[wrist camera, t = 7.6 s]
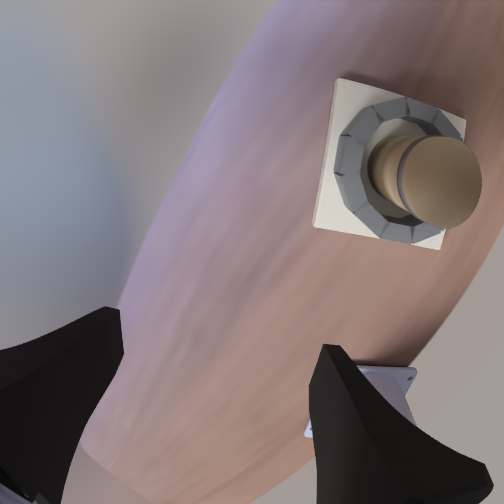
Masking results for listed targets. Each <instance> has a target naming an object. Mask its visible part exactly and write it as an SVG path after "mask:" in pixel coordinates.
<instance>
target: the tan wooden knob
mask: <svg viewBox="0 0 504 504" xmlns="http://www.w3.org/2000/svg"><path fill="white" fill-rule="evenodd" d="M367 173H368V178H369V181H370V183H371V185H372V187H373V188H374V190H375V191H376V192H377V193H378V194H379V195H380V196H382V197H383V198H385V199H387V200H388V201H390V202H392V203H394V204H396V205H397V206H399V207H401V208H403V209H404V210H406V211H408V212H409V213H411V214H412V215H413V216H414V217H416V218H417V219H419V220H421V221H422V222H424V223H427V224H429V225H431V226H433V227H436V228H440V229H448V228H453V227H456V226H458V225H460V224H462V223H463V222H464V221H466V220H467V219H468V218H469V217H470V215H471V214H472V213H473V211H474V210H475V208H476V206H477V204H478V201H479V198H480V194H481V187H482V178H481V171H480V167H479V164H478V161H477V159H476V157H475V155H474V154H473V152H472V151H471V150H470V148H469V147H468V146H467V145H465V144H464V143H463V142H461V141H460V140H458V139H455V138H451V137H445V136H440V135H428V136H390V137H387V138H384V139H382V140H381V141H379V142H378V143H377V144H376V145H375V146H374V148H373V149H372V151H371V153H370V155H369V158H368V163H367Z"/></svg>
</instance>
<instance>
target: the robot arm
mask: <svg viewBox="0 0 504 504" xmlns="http://www.w3.org/2000/svg"><path fill="white" fill-rule="evenodd" d="M123 355H124V349H123V340H122V331H121V320H120V310H119V309H114V308H110V307H106V306H105V307H102V308H100V309H98V310H96V311H93V312H92V313H89V314H87V315H85V316H83V317H81V318H79V319H77V320H75V321H74V322H71V323H69V324H67V325H66V326H63V327H61V328H59V329H57V330H55V331H52V332H50V333H48V334H46V335H44V336H41V337H39V338H37V339H34V340H31V341H29V342H26V343H23V344H21V345H17V346H14V347H11V348H7V349H3V350H0V504H61V499H62V495H63V490H64V485H65V482H66V478H67V475H68V471H69V468H70V465H71V461H72V459H73V456H74V453H75V450H76V447H77V445H78V442H79V440H80V438H81V435H82V433H83V430H84V428H85V426H86V424H87V422H88V420H89V418H90V416H91V415H92V413H93V411H94V409H95V408H96V406H97V404H98V403H99V401H100V399H101V398H102V396H103V394H104V393H105V391H106V389H107V388H108V386H109V384H110V383H111V381H112V379H113V378H114V376H115V374H116V372H117V369H118V367H119V365H120V362H121V360H122V358H123ZM416 374H417V370H416V369H415V368H412V367H378V366H358V365H355V363H354V362H353V361H352V360H351V358H350V357H349V356H348V355H347V353H346V352H345V351H344V350H343V348H342V347H341V346H340V345H329V344H323V346H322V349H321V352H320V355H319V358H318V361H317V364H316V367H315V370H314V373H313V376H312V379H311V381H310V384H309V413H310V420H309V422H308V425H307V427H306V429H305V431H304V435H305V436H306V437H313V442H314V449H315V457H316V466H317V504H479V503H480V502H481V501H483V500H484V499H485V498H486V497H487V496H488V495H489V494H490V493H491V491H492V489H493V486H494V485H493V482H492V480H491V477H490V475H489V473H488V470H487V468H486V466H485V464H484V463H481V462H479V461H477V460H474V459H472V458H469V457H467V456H465V455H462V454H460V453H458V452H456V451H454V450H453V449H451V448H449V447H447V446H445V445H443V444H442V443H440V442H438V441H437V440H435V439H434V438H432V437H431V436H429V435H428V434H426V433H425V432H423V431H422V430H420V429H419V428H418V427H417V426H416V424H415V421H414V419H413V416H412V413H411V411H410V408H409V406H408V404H407V401H406V399H405V394H406V392H407V391H408V389H409V387H410V385H411V383H412V381H413V380H414V378H415V376H416ZM408 377H409V378H408Z"/></svg>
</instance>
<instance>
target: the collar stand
mask: <svg viewBox="0 0 504 504" xmlns="http://www.w3.org/2000/svg"><path fill="white" fill-rule="evenodd" d="M465 129H466V120H465V119H463V118H460V117H458V116H456V115H453V114H451V113H449V112H446V111H444V110H441V109H439V108H437V107H434V106H431V105H429V104H426V103H423V102H421V101H418V100H415V99H412V98H409V97H406V96H403V95H399V94H396V93H393V92H390V91H387V90H383V89H380V88H377V87H373V86H369V85H366V84H362V83H358V82H354V81H350V80H346V79H342V78H338V79H337V80H336V81H335V86H334V94H333V101H332V108H331V115H330V121H329V128H328V134H327V141H326V147H325V153H324V159H323V165H322V170H321V176H320V182H319V187H318V193H317V198H316V204H315V209H314V214H313V219H312V224H313V226H314V227H317V228H323V229H329V230H335V231H341V232H346V233H352V234H358V235H363V236H369V237H374V238H380V239H385V240H390V241H396V242H401V243H406V244H411V245H416V246H421V247H426V248H431V249H436V250H440V247H441V244H442V241H443V237H444V233H445V230H446V229H440V228H436V227H433V226H431V225H429V224H427V223H424V222H422V221H421V220H419V219H417V218H416V217H414V216H413V215H412V214H411V213H409V212H408V211H406V210H404V209H403V208H401V207H399V206H397V205H396V204H394V203H392V202H390V201H388V200H387V199H385V198H383V197H382V196H380V195H379V194H378V193H377V192H376V191H375V190H374V188H373V187H372V185H371V183H370V181H369V178H368V173H367V163H368V158H369V155H370V153H371V151H372V149H373V148H374V146H375V145H376V144H377V143H378V142H379V141H381V140H382V139H384V138H387V137H390V136H428V135H440V136H445V137H451V138H455V139H458V140H460V141H461V142H463V143H464V136H465Z"/></svg>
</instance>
